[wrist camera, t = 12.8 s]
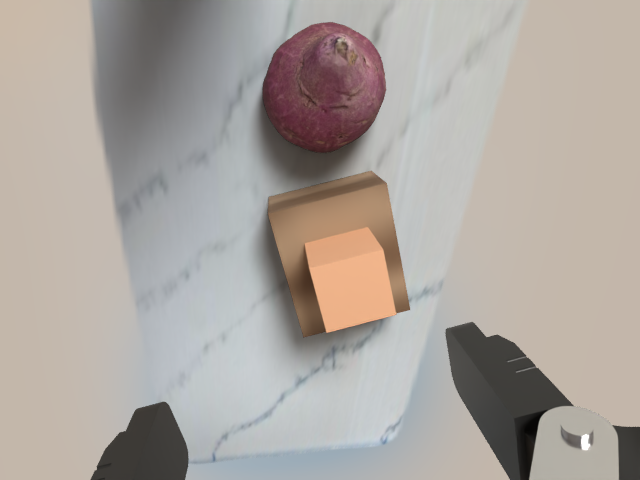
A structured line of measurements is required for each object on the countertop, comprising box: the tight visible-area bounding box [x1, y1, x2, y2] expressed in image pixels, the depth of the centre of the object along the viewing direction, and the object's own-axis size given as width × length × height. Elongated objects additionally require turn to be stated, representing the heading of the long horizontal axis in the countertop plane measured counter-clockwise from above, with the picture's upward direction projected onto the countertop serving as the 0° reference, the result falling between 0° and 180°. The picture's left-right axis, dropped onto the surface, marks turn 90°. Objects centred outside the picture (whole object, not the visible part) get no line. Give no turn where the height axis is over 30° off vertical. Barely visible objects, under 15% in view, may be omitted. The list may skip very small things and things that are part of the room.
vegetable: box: [262, 22, 386, 153], centre depth 32 cm, size 10×10×15 cm
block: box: [305, 227, 396, 333], centre depth 35 cm, size 6×6×6 cm
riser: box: [268, 171, 410, 337], centre depth 40 cm, size 12×10×6 cm
